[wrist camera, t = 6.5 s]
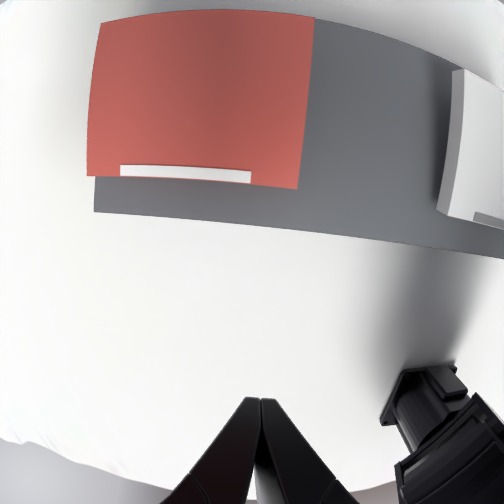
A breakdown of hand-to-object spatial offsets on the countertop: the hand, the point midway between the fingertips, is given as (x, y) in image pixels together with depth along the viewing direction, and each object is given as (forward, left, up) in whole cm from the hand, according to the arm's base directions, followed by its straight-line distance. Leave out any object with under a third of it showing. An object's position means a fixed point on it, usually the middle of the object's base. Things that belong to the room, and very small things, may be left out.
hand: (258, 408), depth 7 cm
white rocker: (+10, -14, -6) cm, 18 cm away
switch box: (+10, -5, -12) cm, 16 cm away
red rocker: (+10, +4, -6) cm, 12 cm away
